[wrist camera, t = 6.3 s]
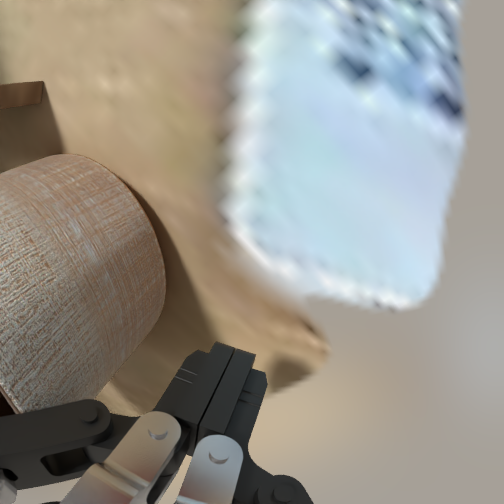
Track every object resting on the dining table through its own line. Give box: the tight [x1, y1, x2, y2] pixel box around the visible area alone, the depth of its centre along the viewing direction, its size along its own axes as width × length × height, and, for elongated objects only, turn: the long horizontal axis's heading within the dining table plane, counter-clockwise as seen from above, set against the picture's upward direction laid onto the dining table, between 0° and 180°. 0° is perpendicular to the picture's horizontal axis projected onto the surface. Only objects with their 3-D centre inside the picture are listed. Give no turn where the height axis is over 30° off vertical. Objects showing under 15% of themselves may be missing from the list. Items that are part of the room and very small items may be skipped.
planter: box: [0, 154, 166, 417], centre depth 12 cm, size 11×11×10 cm
